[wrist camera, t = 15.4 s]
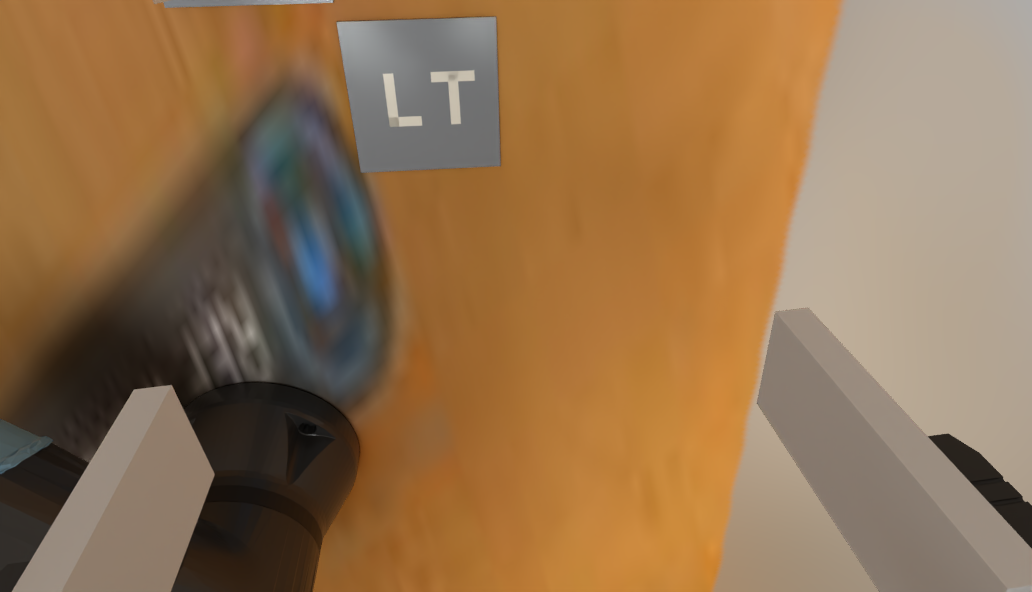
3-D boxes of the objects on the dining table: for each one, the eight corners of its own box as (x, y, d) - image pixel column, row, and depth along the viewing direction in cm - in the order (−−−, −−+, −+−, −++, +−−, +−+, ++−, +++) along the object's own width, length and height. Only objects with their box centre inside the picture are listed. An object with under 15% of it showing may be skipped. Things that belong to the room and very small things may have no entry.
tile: (361, 171, 40) (361, 172, 40) (336, 21, 35) (336, 22, 35) (500, 164, 41) (500, 166, 40) (495, 16, 36) (496, 16, 35)
